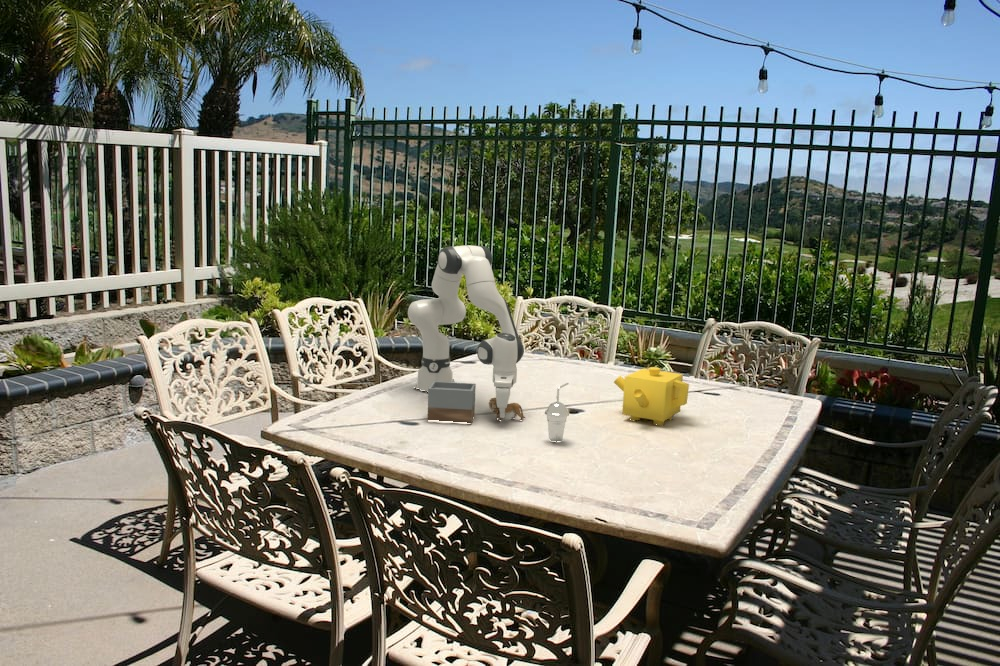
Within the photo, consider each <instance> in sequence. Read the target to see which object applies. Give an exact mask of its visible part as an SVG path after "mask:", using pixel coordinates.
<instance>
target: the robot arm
mask: <svg viewBox="0 0 1000 666" xmlns="http://www.w3.org/2000/svg"><path fill="white" fill-rule="evenodd" d="M492 264H493V255H492V251H491V249H489V248H488V247H487V246H483V245H473V244H472V245H469V244H467V245H466V244H465V245H456V246H455V245H454V246H451V245H450V246H449V245H448V246H446V247H443V248H441V249H440V251H439V253H438V257H437V265H436V268H435V270H434V274H433V278H432V281H431V289H432V291H433V293H434V294H435V295H437V296H438V298H429V299H428V298H427V299H425V298H424V299H418V300H416V301H412V302H411V303H410V304H409V307H407V308H408V309H407V317H408V319H409V321H410V323H411V324H413V325H414V326H415V327H416V328H417V329H418V331H419V333H420V335H421V339H422V356H421V367H420V368H418V370H417V381H416V384H415V385H413V386H412V387H415V388H419V389H421V390H425V391H428V389H429V387H430V386H431V384H432V383H433V381H434V382H453V383H456V381H455V379H454V378H453V374H454V372H453V370H452V369H451V357H450V338H448V336H446V334H444V333H441V332H440V329H439V326H442V325H443V326H444V325H454V324H458V323H460V322H463V320H464V319H465V317H466V314H467V307H466V305H465V303H464V302H463V300H461V299H460V298H459V289H460V284H461V281H462V278H463V275H464V277H465V285H466V291H467V292H466V293H467V296H468V299H469V302H470V303H471V304H472V305H473V306H475V307H477V308H478V309H480V310H484V311H487V312H489V313H491V314H492V315H494V317H496V319H497V320H498V323H499V326H500V329H501V332H499V333H496V334H495V336H493V337H492V338H488V339H483V340H481V341H480V343H478V346H477V349H476V351H477V353H476V354H477V358H478V360H479V361H480V362H481V363H482V364H483V365H487V366H488V365H489V366H490V365H492V366H493V368H492V383H493V387H495V398H496V403H497V407H498V408H499V410H500V417H501V418H502V419H504V418H505V416H506V413H505V408H507V404H509V401H510V396H511V389H512V388H513V387H514V384H517V380H518V379H517V375H518V373H517V372H518V368H517V364H518V363H519V362H520V361H521V359H522V358H523V356H524V353H525V348H524V345H523V342H522V340H521V338H520V337H519V333H518V331H517V328H516V324H515V322H514V319H513V316H512V312H511V309H510V306H509V304H508V302H507V300H506V298H504V297H503V296H502V295H501V294H500V292H499V291H498V288H497V286H496V280H495V276H494V273H493V268H492ZM500 417H499V418H500Z"/></svg>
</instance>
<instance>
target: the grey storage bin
mask: <svg viewBox="0 0 1000 666" xmlns="http://www.w3.org/2000/svg"><path fill="white" fill-rule="evenodd" d="M476 386H477V384H476V383H473V382H472V383H471V382H470V383H469V382H468V383H467V382H455V383H453V382H434V381H433V383H432V384H431V386H430V387H429V389H428V393H427V396H428V397H427V408H428V407H429V408H447V409H465V410H472V408H473V406H474V403H475V404H476V389H477V388H476Z"/></svg>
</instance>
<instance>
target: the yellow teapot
mask: <svg viewBox="0 0 1000 666" xmlns="http://www.w3.org/2000/svg"><path fill="white" fill-rule="evenodd" d="M683 377H684V375H683V374H682V373H677V372H676V373H675V372H670V371H664V370H662V371H661V367H657V366H649V367H648V368H645V367H644V368H642V369H639V370H636V371H634V372H632V373H630V374H628V375H626V376H624V378H623V376H621V375H620V376H618V377H617V378H615V380H614V381H613V383H614V384H615V386H617V387H618V388H619V389H620V390H621V391H622V392H623V397H622V412H621V414H622V415H624V416H629V418H630V419H631V420H639V421H640V420H641V419H646V420H651V421H653V423H654V424H657V425H656V426H658V425H663V424H664V425H665V421H668V420H667V419H672V418H673V417H674V415H677V414H678V413H679V412H681V407H682V406H685V405H687V404H688V395H689V387H690V384H689V383H687V382H684V381H683V380H684V379H683ZM631 420H630V421H631ZM654 424H653V425H654ZM664 425H663V426H664Z"/></svg>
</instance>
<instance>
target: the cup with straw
mask: <svg viewBox="0 0 1000 666" xmlns="http://www.w3.org/2000/svg"><path fill="white" fill-rule="evenodd" d="M569 384H570V383H569V382H565V383H563V384H562V385H560V386H558V387H557V389H556V390H557V391H556V401H553V402H551V403H550V404H549V405H548V407H547V408H546V409H545V411H544V415H545V416H546V419H547V420H546V421H547V430H548V431H547V432H548V440H549V439H550V440H551V441H556V442H557V441H562V442H563V439H564V433H565V429H566V428H565V427H566V422H567V419H568V417H569V416H570V411H569V410H568V408H567V407H566V405H565V404H564V403H562V402H561V401H559V400H560V390H561V389H562V388H564V387H566V386H568V385H569Z"/></svg>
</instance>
